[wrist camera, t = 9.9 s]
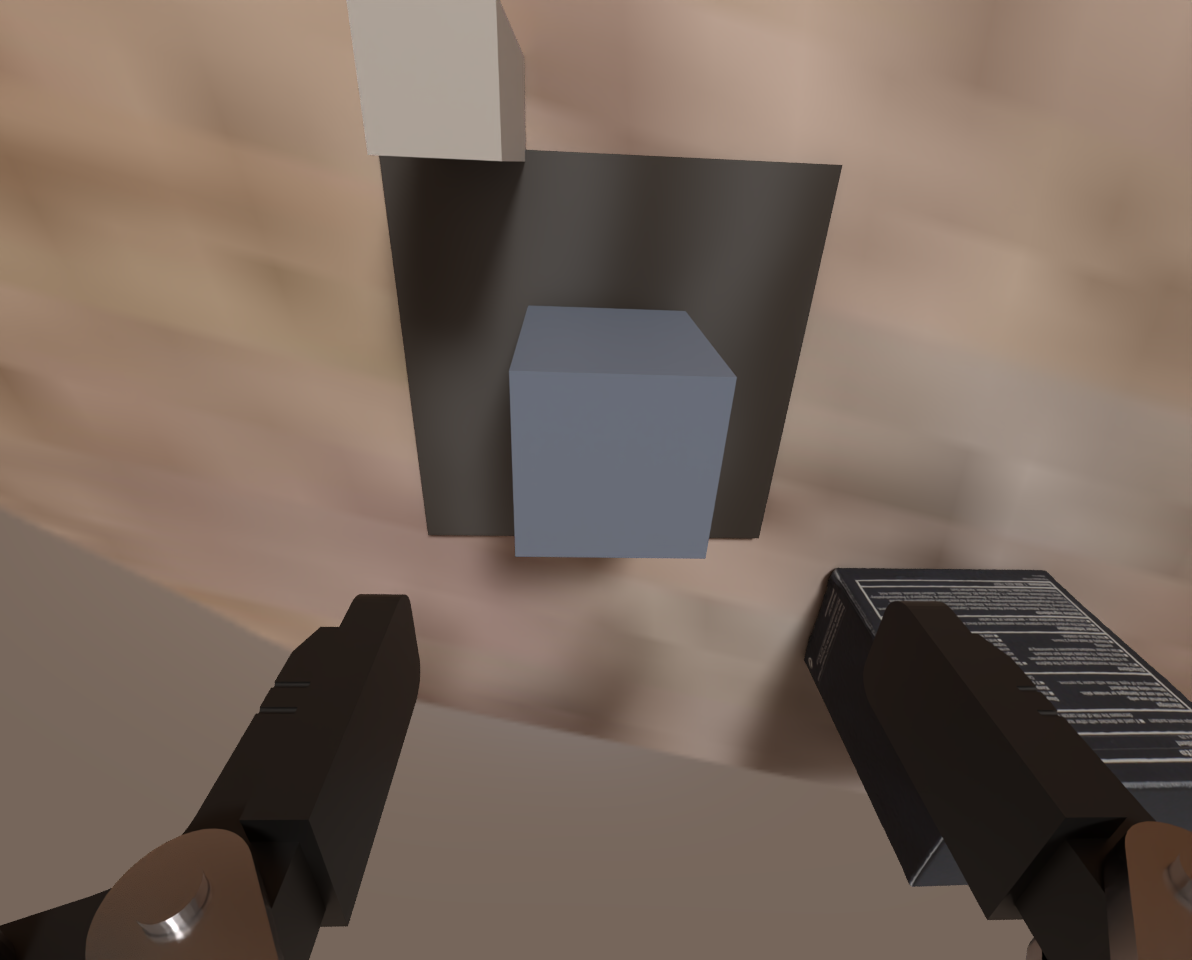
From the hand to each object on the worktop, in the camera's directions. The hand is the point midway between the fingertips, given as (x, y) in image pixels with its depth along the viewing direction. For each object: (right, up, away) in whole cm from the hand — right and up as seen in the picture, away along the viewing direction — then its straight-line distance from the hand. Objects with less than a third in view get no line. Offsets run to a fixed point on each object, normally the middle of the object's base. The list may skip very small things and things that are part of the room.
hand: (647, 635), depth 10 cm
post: (-4, +14, +7) cm, 16 cm away
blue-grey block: (-1, +6, +10) cm, 12 cm away
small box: (+15, -4, +18) cm, 24 cm away
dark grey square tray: (-1, +7, +11) cm, 13 cm away
